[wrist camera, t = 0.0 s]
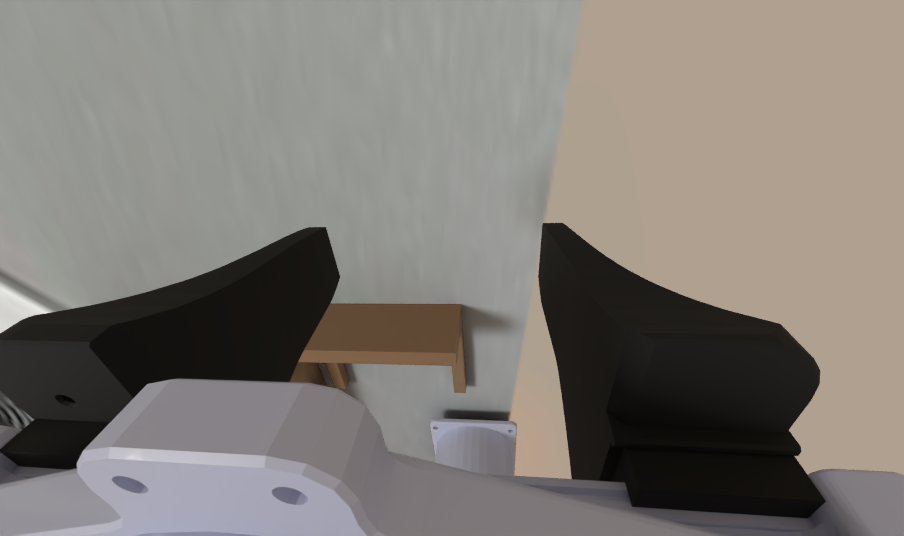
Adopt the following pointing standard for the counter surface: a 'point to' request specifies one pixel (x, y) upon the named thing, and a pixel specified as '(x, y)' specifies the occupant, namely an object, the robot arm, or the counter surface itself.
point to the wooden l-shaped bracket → (389, 338)
